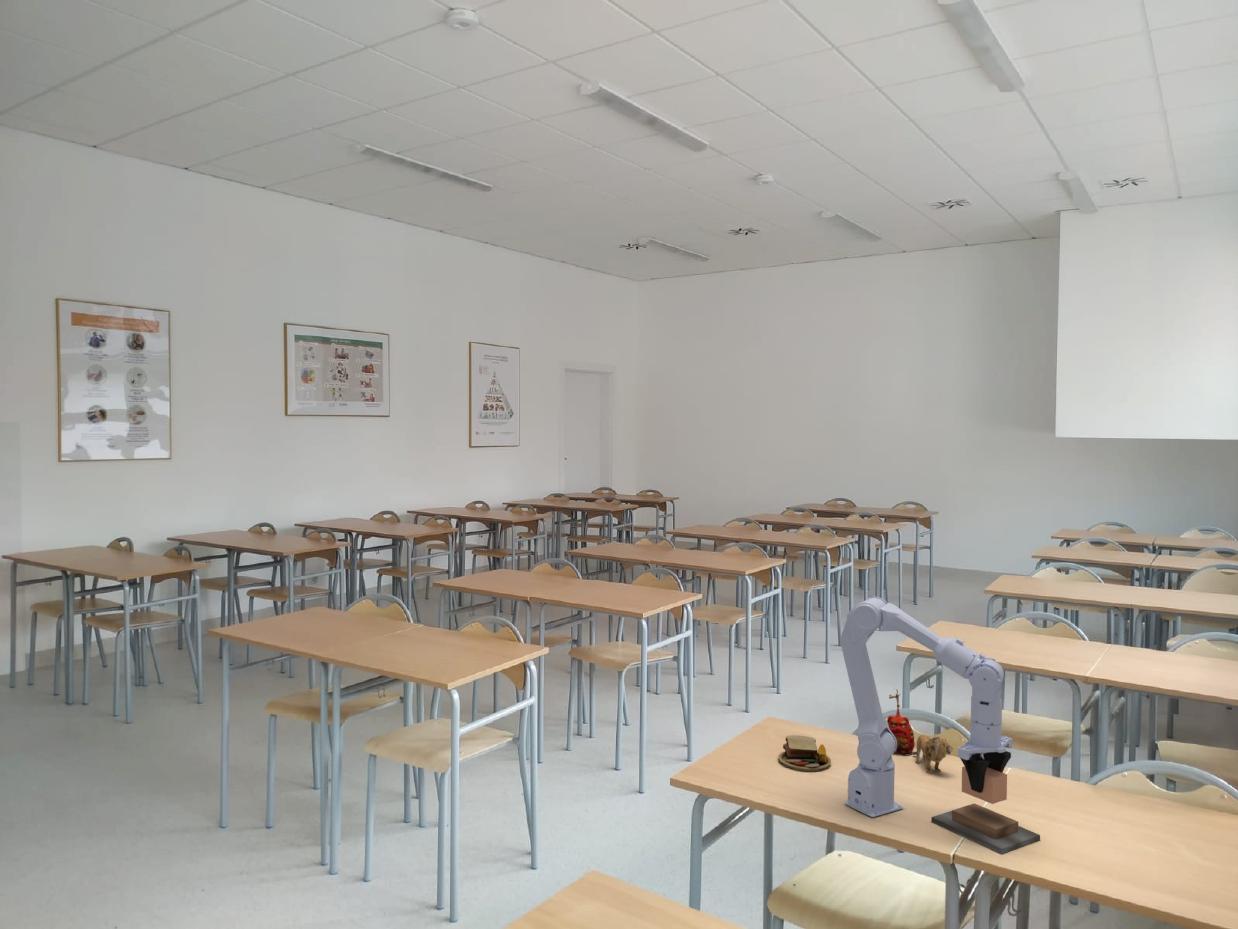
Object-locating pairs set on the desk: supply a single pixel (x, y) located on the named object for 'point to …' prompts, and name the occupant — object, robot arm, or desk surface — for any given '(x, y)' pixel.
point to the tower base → (987, 840)
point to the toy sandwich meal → (804, 754)
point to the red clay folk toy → (901, 731)
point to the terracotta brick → (988, 786)
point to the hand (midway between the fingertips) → (984, 788)
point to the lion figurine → (932, 751)
